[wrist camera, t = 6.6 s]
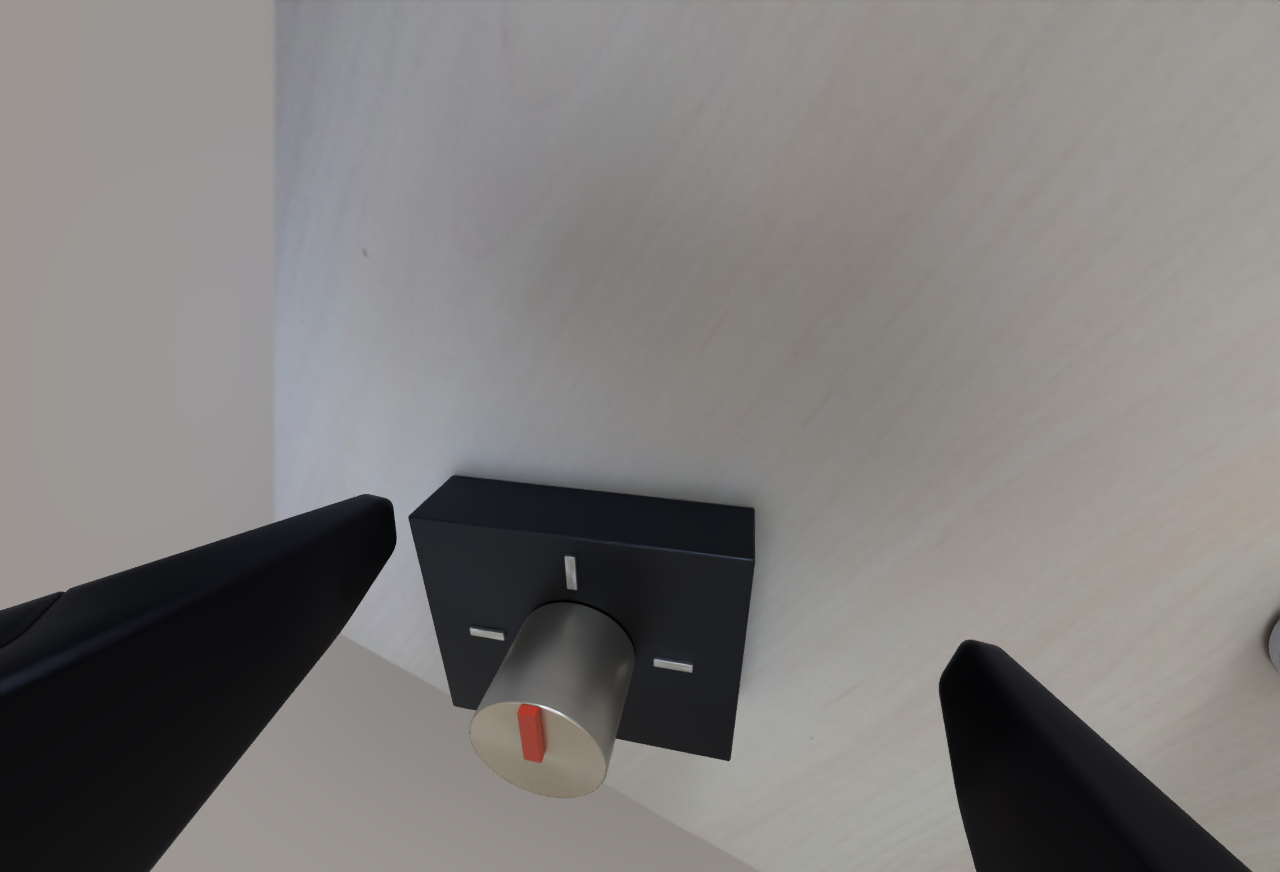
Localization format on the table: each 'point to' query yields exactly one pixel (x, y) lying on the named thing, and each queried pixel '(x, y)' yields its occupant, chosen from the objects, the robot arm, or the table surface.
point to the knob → (556, 702)
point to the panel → (596, 593)
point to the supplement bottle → (1275, 646)
